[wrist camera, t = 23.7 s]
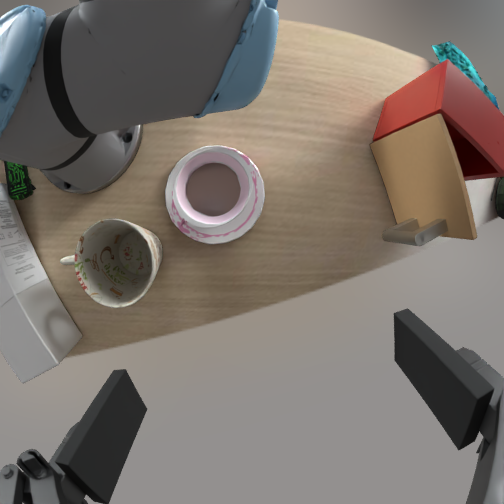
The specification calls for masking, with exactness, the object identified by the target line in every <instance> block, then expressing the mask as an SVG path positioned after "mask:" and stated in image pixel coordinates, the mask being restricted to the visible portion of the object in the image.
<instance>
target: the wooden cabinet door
mask: <svg viewBox="0 0 504 504" xmlns="http://www.w3.org/2000/svg"><path fill="white" fill-rule="evenodd" d="M370 147H371V150H372V152H373V155H374V157H375V160H376V162H377V165H378V168H379V171H380V173H381V176H382V179H383V182H384V185H385V188H386V191H387V194H388V197H389V200H390V203H391V206H392V209H393V212H394V216H395V219H396V222H397V225H395V226H393V227H391V228H389V229H387V230H384V231H383V233H382V238H383V240H384V241H388V242H395V243H402V244H408V245H415V246H422V245H424V244H425V243H427V242H429V241H431V240H433V239H434V238H436V237H438V236H442V237H451V238H460V239H469V240H474V239H476V238H477V233H476V228H475V223H474V218H473V213H472V209H471V204H470V200H469V196H468V192H467V188H466V184H465V181H464V177H463V174H462V170H461V167H460V164H459V161H458V158H457V155H456V152H455V149H454V146H453V143H452V140H451V137H450V135H449V132H448V130H447V127H446V124H445V122H444V119H443V117H442V115H441V114H436V115H434V116H432V117H429V118H427V119H425V120H422V121H420V122H418V123H415V124H413V125H411V126H409V127H406V128H404V129H402V130H400V131H398V132H395V133H393V134H391V135H389V136H387V137H384V138H382V139H380V140H378V141H376V142H374V143H371V144H370Z"/></svg>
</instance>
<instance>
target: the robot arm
mask: <svg viewBox="0 0 504 504" xmlns="http://www.w3.org/2000/svg"><path fill="white" fill-rule="evenodd" d="M79 1H80V4H79V5H77V6H74V7H72V8H69V9H67V10H65V11H62V12H60V13H57V14H55V15H53V16H50V17H46V16H45V15H46V14H45V12H44V11H43V9H41V8H36V7H35V6H29V5H23V6H19V7H17V8H15V9H13V10H11V11H9V12H8V13H6V14H5V15H3V16H2V17H1V18H0V160H3V161H8V162H12V163H16V164H20V165H25V166H29V167H33V168H37V169H39V170H40V171H41V172H42V173H43V174H44V175H45V176H46V177H47V179H48V180H49V181H50V182H51V183H53V184H54V185H55V186H56V187H58V188H60V189H62V190H64V191H67V192H72V193H79V194H86V193H92V192H96V191H99V190H101V189H104V188H105V187H107V186H109V185H110V184H112V183H113V182H115V181H116V180H117V179H118V178H119V177H120V176H121V175H122V174H123V173H124V172H125V171H126V170H127V168H128V167H129V166H130V164H131V163H132V161H133V160H134V158H135V156H136V154H137V151H138V149H139V146H140V143H141V139H142V133H143V124H147V123H152V122H158V121H163V120H169V119H175V118H181V117H188V116H193V117H194V118H201V117H203V116H205V115H206V114H210V113H216V112H223V111H230V110H237V109H240V108H243V107H245V106H247V105H248V104H250V103H251V102H252V101H253V100H254V99H255V98H256V97H257V96H258V95H259V93H260V92H261V90H262V88H263V86H264V84H265V82H266V79H267V76H268V73H269V70H270V67H271V63H272V59H273V55H274V50H275V45H276V38H277V32H278V20H279V17H278V12H277V11H276V8H277V2H278V0H79ZM394 337H395V361H396V363H397V364H398V365H399V367H400V368H401V369H402V371H403V372H404V373H405V375H406V376H407V377H408V379H409V380H410V382H411V383H412V384H413V386H414V387H415V388H416V390H417V391H418V393H419V394H420V395H421V397H422V398H423V400H424V401H425V402H426V404H427V405H428V406H429V408H430V409H431V411H432V412H433V414H434V415H435V416H436V418H437V419H438V421H439V422H440V424H441V425H442V427H443V428H444V430H445V431H446V432H447V434H448V435H449V437H450V438H451V440H452V441H453V443H454V444H455V446H456V447H457V449H458V450H460V449H462V448H464V447H466V446H467V445H469V444H471V443H472V442H474V441H475V439H476V437H477V435H478V433H479V431H480V433H481V434H482V435H483V439H482V442H481V444H480V446H479V448H478V450H477V452H476V453H479V452H480V453H479V458H478V462H477V467H476V471H475V474H474V478H473V482H472V485H471V489H470V492H469V495H468V498H467V501H466V504H504V378H503V377H502V376H501V375H500V374H499V373H498V372H497V371H496V370H494V369H493V368H492V367H491V366H490V365H487V362H485V361H484V360H483V359H481V357H480V356H478V355H477V354H476V353H475V352H474V351H472V350H469V349H467V348H464V347H463V348H461V349H459V350H457V351H455V350H454V349H453V348H452V347H451V346H450V345H449V344H447V343H446V342H445V341H444V340H443V339H442V338H441V337H440V336H439V335H437V334H436V333H435V332H434V331H433V330H432V329H431V328H430V327H428V326H427V325H426V324H425V323H424V322H423V321H422V320H420V319H419V318H418V317H417V316H416V315H415V314H413V313H412V312H411V311H410V310H409V309H405V310H402V311H399V312H396V313H394ZM146 411H147V408H146V406H145V404H144V403H143V401H142V399H141V397H140V395H139V394H138V392H137V390H136V388H135V386H134V384H133V382H132V381H131V379H130V377H129V375H128V373H127V371H126V370H125V369H123V370H114V371H113V372H112V374H111V375H110V377H109V378H108V379H107V381H106V383H105V384H104V385H103V387H102V389H101V390H100V391H99V393H98V394H97V396H96V397H95V399H94V400H93V402H92V403H91V405H90V406H89V408H88V410H87V411H86V412H85V414H84V416H83V417H82V419H81V420H80V422H78V423H76V424H75V425H74V426H73V427H72V428H71V429H70V430H69V432H68V433H67V435H66V438H64V439H63V441H62V443H61V444H60V446H59V447H58V449H57V450H56V452H55V454H54V456H53V457H52V459H51V460H50V462H49V463H48V462H47V461H46V460H45V459H44V458H43V457H42V455H41V454H40V453H39V452H38V451H37V450H33V449H31V450H27V451H25V452H23V453H22V454H21V455H20V456H19V458H18V460H17V465H18V466H19V467H20V468H21V469H22V470H23V471H24V472H22V471H21V470H20V469H19V468H18V467H17V466H15V465H14V464H9V465H6V466H4V467H3V468H2V470H1V471H0V504H22V502H23V503H24V504H88V503H87V501H86V500H85V499H84V498H85V495H88V496H89V497H90V498H91V499H92V500H93V501H94V502H99V503H103V504H109V502H110V499H111V496H112V494H113V491H114V488H115V486H116V484H117V481H118V479H119V476H120V474H121V471H122V468H123V466H124V464H125V461H126V459H127V456H128V454H129V451H130V449H131V447H132V444H133V441H134V439H135V437H136V435H137V432H138V430H139V428H140V425H141V423H142V420H143V418H144V415H145V413H146Z"/></svg>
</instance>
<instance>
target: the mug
mask: <svg viewBox="0 0 504 504" xmlns="http://www.w3.org/2000/svg"><path fill="white" fill-rule="evenodd" d="M162 257H163V250H162V245H161V243H160V241H159V239H158V238H157V236H156V235H155V234H154V233H152V232H151V231H149V230H147V229H145V228H143V227H140V226H138V225H135V224H133V223H131V222H128V221H125V220H122V219H105V220H101V221H98V222H96V223H95V224H93V225H91V226H90V227H89V228H88V229H87V230H86V231H85V232H84V233H83V235H82V236H81V238H80V240H79V242H78V244H77V247H76V251H75V255H71V256H67V257H64V258H62V259H61V260H60V263H61V264H63V265H75V271H76V275H77V278H78V280H79V282H80V284H81V286H82V288H83V289H84V291H85V292H86V293H87V294H88V295H89V296H90V297H91V298H92V299H93V300H95V301H96V302H98V303H99V304H102V305H104V306H107V307H112V308H122V307H127V306H130V305H132V304H134V303H136V302H138V301H139V300H140V299H141V298H142V297H143V296H144V295H145V294H146V293H147V292H148V290H149V288H150V287H151V285H152V283H153V280H154V278H155V276H156V273H157V271H158V269H159V267H160V264H161V262H162Z"/></svg>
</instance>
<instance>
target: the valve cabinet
mask: <svg viewBox="0 0 504 504" xmlns="http://www.w3.org/2000/svg"><path fill="white" fill-rule="evenodd" d="M436 114H441V115H442V117H443V119H444V122H445V124H446V127H447V130H448V132H449V135H450V137H451V140H452V143H453V146H454V149H455V152H456V155H457V158H458V161H459V164H460V167H461V170H462V174H463V177H464V181H467V180H476V179H485V178H495V177H504V116H503V114H502V113H501V112H500V111H499V110H498V108H497V107H496V106H495V105H494V104H493V103H492V102H491V101H490V100H489V98H488V97H487V96H486V95H485V94H484V93H483V92H482V91H481V90H480V89H479V88H478V87H477V86H476V85H475V84H474V83H473V82H472V81H471V80H470V79H469V78H468V77H467V76H466V75H465V74H464V73H463V72H462V71H460V70H459V69H458V68H457V67H456V66H455V65H454V64H453V63H452V62H450V61H449V60H448V59H446V60H445V61H443V62H441V63H440V64H438V65H437V66H435V67H433V68H432V69H430V70H429V71H427V72H425V73H424V74H422V75H421V76H419V77H418V78H416V79H414V80H413V81H411V82H410V83H408V84H407V85H405V86H404V87H402V88H401V89H399V90H398V91H396V92H395V93H393V94H392V95H390V96H389V97H387V98H386V99H385V103H384V106H383V109H382V112H381V116H380V119H379V122H378V125H377V128H376V131H375V134H374V137H373V141H375V142H376V141H378V140H380V139H382V138H384V137H387V136H389V135H391V134H393V133H395V132H398V131H400V130H402V129H404V128H406V127H409V126H411V125H413V124H415V123H418V122H420V121H422V120H425V119H427V118H429V117H432V116H434V115H436Z"/></svg>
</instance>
